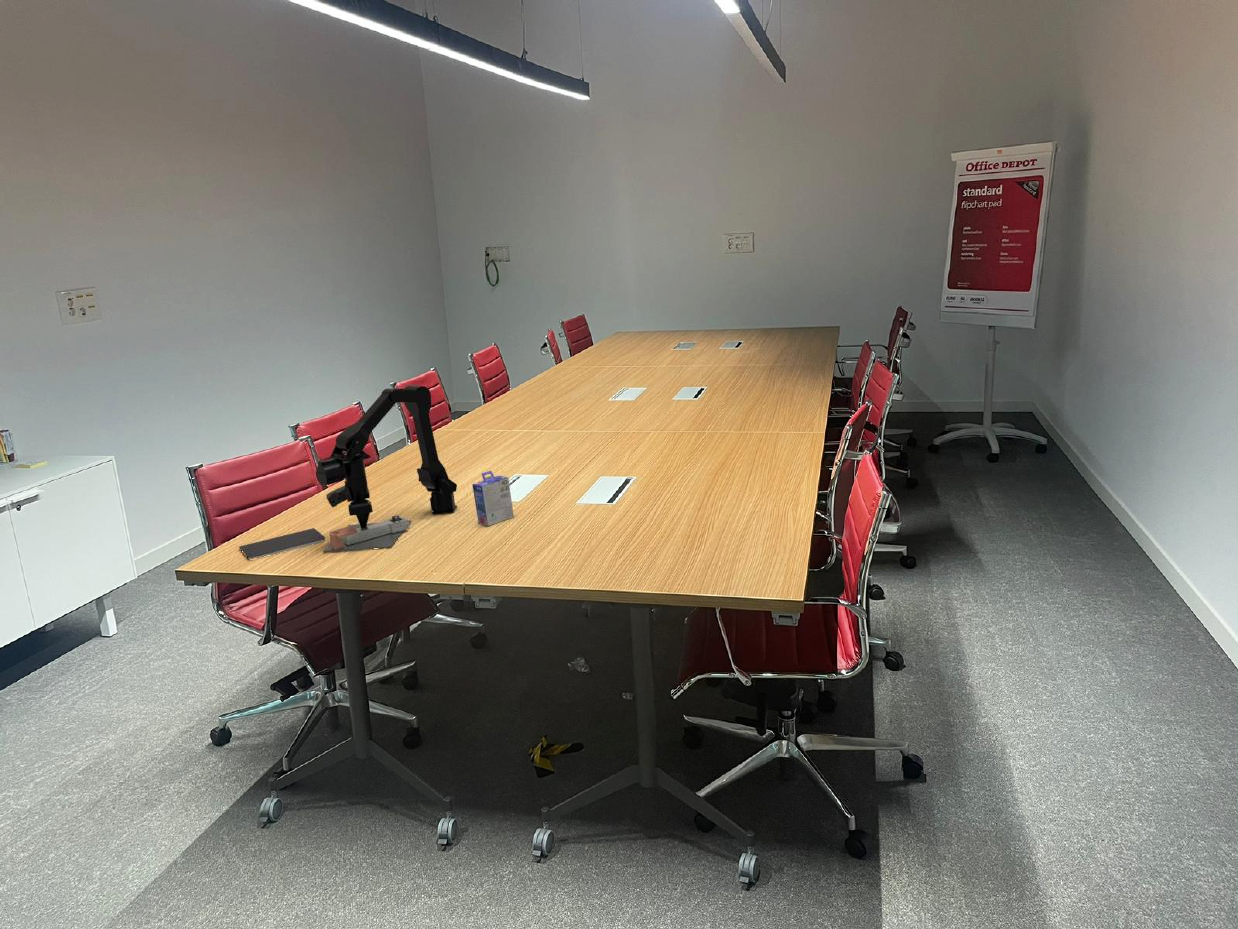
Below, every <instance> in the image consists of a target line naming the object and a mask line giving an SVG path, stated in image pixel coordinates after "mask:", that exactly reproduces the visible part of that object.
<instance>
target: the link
mask: <svg viewBox="0 0 1238 929" xmlns="http://www.w3.org/2000/svg"><path fill="white" fill-rule="evenodd" d="M398 516H399V519H400V521H397V522H393V521H392V517H391V518H388V519H384V520H383V521H380V522H375V523H376V524H372V525H369V526H365V527H361V528H358V529H355V530H357V532H358V533H356V534H353V535H349V536H346V537H342V539H343V543H345V544H347V545H350V544H354V543H357V542H361V541H364V540H368V539H371V538H375V537H378V536H382V535H385V534H389V533H396V532H399V531H403V530H405V531H406V530H410V525H409V522H408V521H409V519H408V518H406V517H405V516H401V515H398Z"/></svg>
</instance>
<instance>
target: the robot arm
mask: <svg viewBox="0 0 1238 929" xmlns="http://www.w3.org/2000/svg"><path fill="white" fill-rule="evenodd" d="M431 393H432V392H431V390H430V389H429V388H427V387H426V386H423V385H414V384H408V385H407V386H405V387H404V388H390V387H389V388H384V390H382V392H381V394H380V395H379V396H378V398H377V399H376V400H375V401H374V402H373V403H372V404H371V406H369V408H368V409H367V410H366V411H365V412H364V414H363V415H362V416H361V417H360V418H359V419H358V421H356V422H355V423H354V424H351V425H350V426H348V427H346V428H345V429H344V430H342V432H340V433H339V434H338V435H336V438H335V445H334V447H333V450H332V452H331V454H330V456H329V458H330V459H325V460H319V461H317V467H316V469H315V477H316V480H317V482H318V483H319V485H320V486H322V487H325V486H329V485H332V484H336V483H341V482H343V481H344V485H343V486H342V485H341V486H340V487H337V488H336V489H334V490H332V491H330V492H328V493H327V494H326V500H327V502H328V505H330V506H331V508H335V507H337V506H338V505H340V504H341V503H343V502H345V501H347V503H349V504H348V506H347V507H348V513H349V515H348V516H352V517H353V516H355V517H356V518H357V521H358V524H360V526H361V527H365V526H367V524H368V521H369V518H370V515H371V513H373V505H372V501H370V500H369V499H370V498H371V497H370V496H371V494H370V490H369V485H368V480H367V474H366V467H365V461H364V460H367V459H371V458H372V457H371V455H370V454H368V453H366V452H365V450H364V449H365V448H366V446H367V444H368V443H369V441H370V440H369V439H370V436H371V434H372V433H373V431H374V429H376V428H377V426H379V424H380V423H381V421H382V420H383V419H384V418H385V417H386V416H387V414H388V413H389V412H390V411H391V409H393V407H395V405H396V404H398V403H403V404H404V407H405V408H406V409H407V411H408V413H409V414H410V415H411V416H412V417H411V418H412V421H413V425H414V431H415V434H416V439H417V443H418V448H419V453H420V458H421V466H420V467H418V468H416V473H417V475H418V482H420V483H421V485H422V486H423V487H425V489H426V491H427V492H430V498H429V503H430V508H431V514H432V515H442V514H443V515H445V514H452V513H453V514H454V512H455V511H456V509H457V507H458V506H457V504H456V502H455V492H457V487H458V484H457V483H455V482H454V481H453V480H451V479H450V478H449V476H448V473H447V469H446V467H445V466H444V464H443V463H442V462H441V460H440V459H439V454H438V450H437V446H436V442H435V441H436V440H435V436H434V433H433V426H432V422H431V418H430V412H431V408H432V394H431Z"/></svg>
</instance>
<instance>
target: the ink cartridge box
mask: <svg viewBox="0 0 1238 929" xmlns="http://www.w3.org/2000/svg"><path fill="white" fill-rule="evenodd" d="M486 475H490V476H486ZM481 477H482V480H481V481H478V482H475V483H472V484H471V485H472V490H473V491H472V492H473V499H474V504H475V510H476V516H477V522H478V525H479V524H480V525H483V526H486V527H489V526H492V525H495V524H498V523H500V522H502V521H506V520H509V519H512V518H514V516H515V515H514V509H513V502H512V494H511V486H510V480H509V477H507V476H503V475H494V473H493V472H492V470H489V471H486V472H482V473H481Z"/></svg>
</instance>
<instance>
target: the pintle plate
mask: <svg viewBox="0 0 1238 929" xmlns="http://www.w3.org/2000/svg"><path fill="white" fill-rule="evenodd" d="M399 516H400V515H397V514H396V515H393V516H391V518H392V521H393V522H397V521H400V519H399ZM408 522H409V526H410V525H411V524H412V522H413V521H412V520H411V519H410V520H409V519H408ZM376 523H377V522H370V523H368V522H367V526H369V525H372V524H376ZM348 526H349V527H351V528H353V529H358V528H361V526H360V524H359V523H357V524H348V525H347V526H346V527H348ZM405 532H406V530H403V531H399V532H396V533H389V534H385V535H382V536H378V537H375V538H371V539H368V540H364V541H361V542H357V543H354V544H350V545H347V544H345V543H343V548H340V549H337V550H334V549H333V548H332V546H331V542H330V544H328V546H326V548H324V549H323V551H322V552H323V554H327V553H326V552H331V553H339V551H345V552H355V550H358V551H365V550H364V549H372V550H375V549H374V548H386V549H392V548H393V546H394V545H396V543H397V542H398V541H399V539H400V538H401V536H402V535H403V534H404V533H405ZM399 537H400V538H399ZM398 538H399V539H398ZM342 541H343V539H342ZM396 541H397V542H396ZM395 542H396V543H395Z"/></svg>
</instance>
